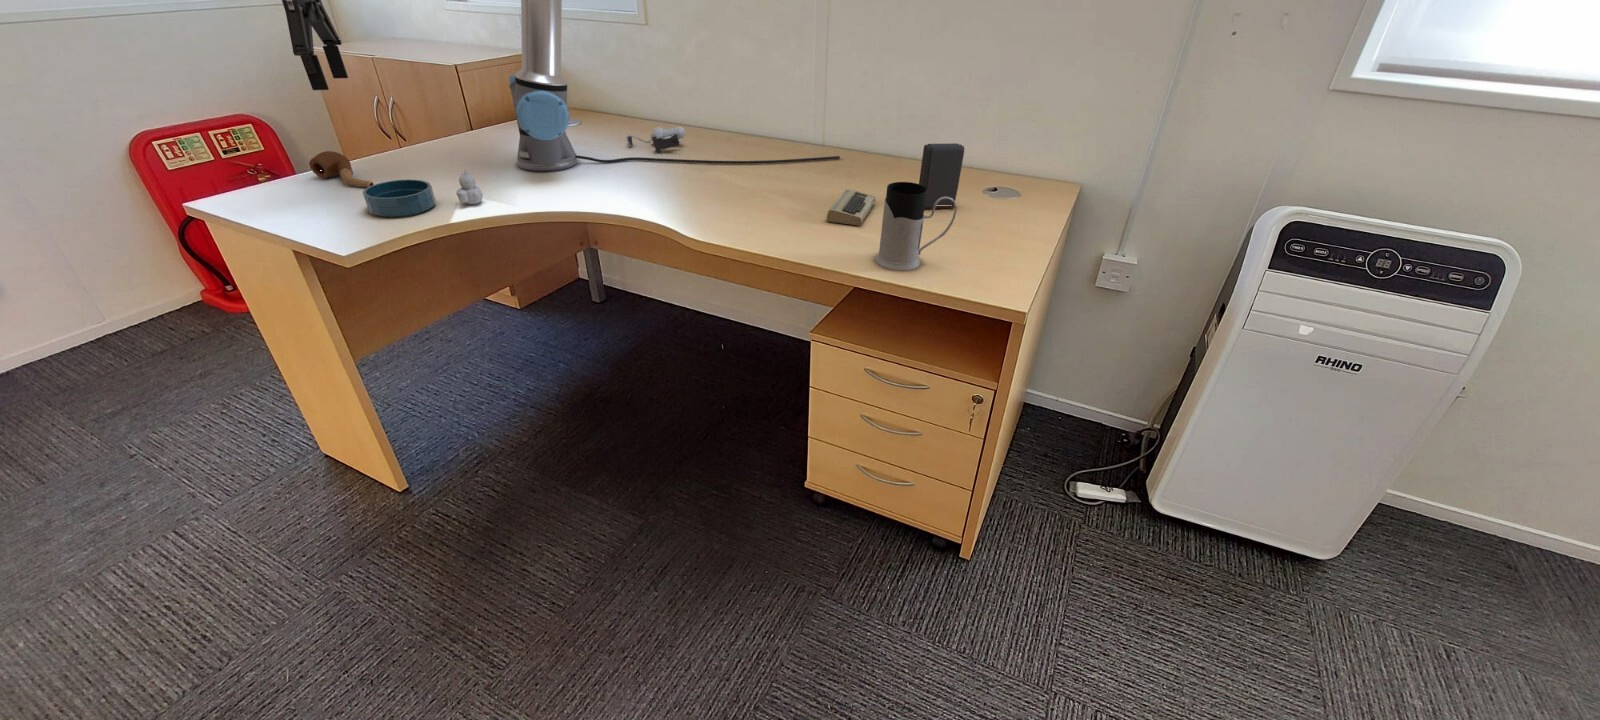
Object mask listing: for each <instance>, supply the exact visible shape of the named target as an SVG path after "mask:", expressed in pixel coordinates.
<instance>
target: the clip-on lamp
mask: <svg viewBox="0 0 1600 720" xmlns="http://www.w3.org/2000/svg"><path fill="white" fill-rule="evenodd" d="M685 136H686V131H685V129H684V127H682V126H676V127H671V128H663V127H658V126H657V127H655V128H653V129H652V132H651V134H650V140H648V141H647V140H644V139H642V138H640V137H638V136H635V135H633V134H627V135H626V142H627V144H628V146H629V148H630V147H631V148H632V147H633V138H634V139H637V140H638V141H641V142H643V143H646V144H649V143H651V142H652V143H653V146H654V149H655V153H656V154H660V153H661V152H662V150H665V149H669V148H674V147H679V146H680V144H683V142H682V140H680V139H684V138H685Z"/></svg>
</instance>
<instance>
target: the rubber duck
mask: <svg viewBox="0 0 1600 720" xmlns="http://www.w3.org/2000/svg"><path fill="white" fill-rule="evenodd" d="M458 182H459V185H460V188H458V189H457V190H456V193H455V194H456V196H457V198H458V200H459V202H460V203H463V204H467V205H477V204H478V203H480V202H482V200H483V195H484V193H483V192H482V190H481V188H480V187H479V186H477V183H476V179H475V178H474V177H473V176H472V174H470V173H469V172H468V171H467V168H464V172H461V174H460V175H459V178H458Z"/></svg>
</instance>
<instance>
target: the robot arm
mask: <svg viewBox="0 0 1600 720" xmlns="http://www.w3.org/2000/svg"><path fill="white" fill-rule="evenodd" d="M281 2H282V5H283V9H284V12H285V16H286V21H287V22H286V23H287V26H288V27H287V28H288V32H289V37H290V43H291V47H292V52H293V55H294V56H295V57H300V59H301V62H302V64H303V67H304V70H305V73H306V76H307V78H308V81H309V84H310V86H311V89H312V91H328V90H330V89H329V85H328V83H327V80H326V77H325V74H324V71H323V68H322V65H321V63H320V59H319V57H318V54H315V49H314V47H315V46H314V38H313V37H314V36H313V31H315V33H316V35H317V36H318V38H319V39H320V41H321V42H322V44H323V45H322V50H323V52H324V54H325V58H326V61H327V64H328V67H329V69H330V72H331V75H332V78H333V79H348V78H349V76H348V73H347V70H346V66H345V63H344V61H343V58H342V55H341V52H340V49H339V46H342V44H343V43H342V40H341V39H340V37H339V35H338V33H337V31H336V29H335V26H334V25H333V23H332V21H331V18H330V17H329V15H328V13H327V11H326V9H325V7H324V4H323V2H322V0H281ZM562 10H563V0H520V13H521V14H520V17H521V20H520V21H521V23H520V25H521V69H519V70H518V71H517V72H516V73H512V74H511V75H509V78H508V81H509V82H508V83H509V85H508V87H509V90H510V94H511V98H512V102H513V103H512V104H513V108H514V113H515V119H516V124H517V128H518V132H519V141H518V149H517V157H516V159H517V165H518V167H519V168H520V169H522V170H525V171H531V172H556V171H562V170H567V169H569V168H572V167H574V166H576V165H577V164H578V159H579V160H587V161H592V162H596V163H603V164H604V163H605V164H608V163H609V164H611V163H618V162H619V163H620V162H625V161H649V162H666V163H667V162H670V163H674V162H675V163H689V164H691V163H693V164H722V165H723V164H729V165H730V164H731V165H733V164H734V165H735V164H736V165H737V164H739V165H740V164H741V165H742V164H743V165H744V164H745V165H746V164H747V165H748V164H750V165H751V164H753V165H754V164H778V163H779V164H780V163H782V164H783V163H795V162H796V163H797V162H810V161H827V160H839V159H840V158H841V155H834V156H821V157H806V158H792V159H770V160H769V159H768V160H766V159H765V160H708V159H707V160H706V159H705V160H703V159H678V158H657V157H640V156H639V157H637V156H636V157H635V156H634V157H633V156H632V157H631V156H630V157H622V158H614V159H599V158H594V157H591V156H582V155H577V153H576V152H575V149H574V147H573V145H572V143H571V141H570V139H569V137H568V135H567V132H566V130H567V129H568V127H569V124H570V123H569V122H570V112H569V108H568V81H567V80H566V79H565V77H563V75H562V24H563V23H562V22H563V19H562V17H563V11H562Z"/></svg>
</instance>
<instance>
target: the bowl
mask: <svg viewBox="0 0 1600 720" xmlns="http://www.w3.org/2000/svg"><path fill="white" fill-rule="evenodd" d="M362 196H363V198H364V201H365V204H366V206H367V209H368V212H369V213H370V214H372V215H375V216H379V217H384V218H403V217H410V216H415V215H419V214H422V213H425V212H427V211H429V210H430V209H431V208H432V207H434V206H435V205H436V202H437V200H436V197H435V194H434V190H433V186H432V184H431V183H430V182H428V181H426V180H421V179H409V178H407V179H395V180H388V181H382V182H379V183H375V184H374V185H372V186H370V187H365V188H364V190H363V191H362Z"/></svg>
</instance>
